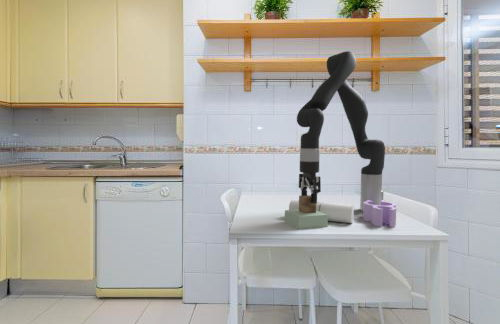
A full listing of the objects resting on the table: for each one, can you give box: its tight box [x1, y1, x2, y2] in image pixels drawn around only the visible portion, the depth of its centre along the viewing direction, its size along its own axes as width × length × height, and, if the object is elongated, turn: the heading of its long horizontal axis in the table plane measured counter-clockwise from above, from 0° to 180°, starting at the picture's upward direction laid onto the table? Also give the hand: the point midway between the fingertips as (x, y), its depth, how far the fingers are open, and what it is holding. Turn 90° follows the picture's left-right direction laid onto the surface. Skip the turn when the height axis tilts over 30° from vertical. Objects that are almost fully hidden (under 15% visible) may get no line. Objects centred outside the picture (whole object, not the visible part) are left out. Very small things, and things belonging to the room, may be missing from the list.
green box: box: [284, 209, 329, 230], centre depth 124 cm, size 12×12×5 cm
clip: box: [362, 200, 397, 228], centre depth 130 cm, size 20×12×7 cm, turn 170°
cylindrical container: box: [288, 199, 355, 224], centre depth 131 cm, size 7×7×25 cm
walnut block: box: [298, 194, 316, 213], centre depth 125 cm, size 5×5×6 cm
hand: (308, 201), depth 126 cm, fingers open, 8 cm apart
